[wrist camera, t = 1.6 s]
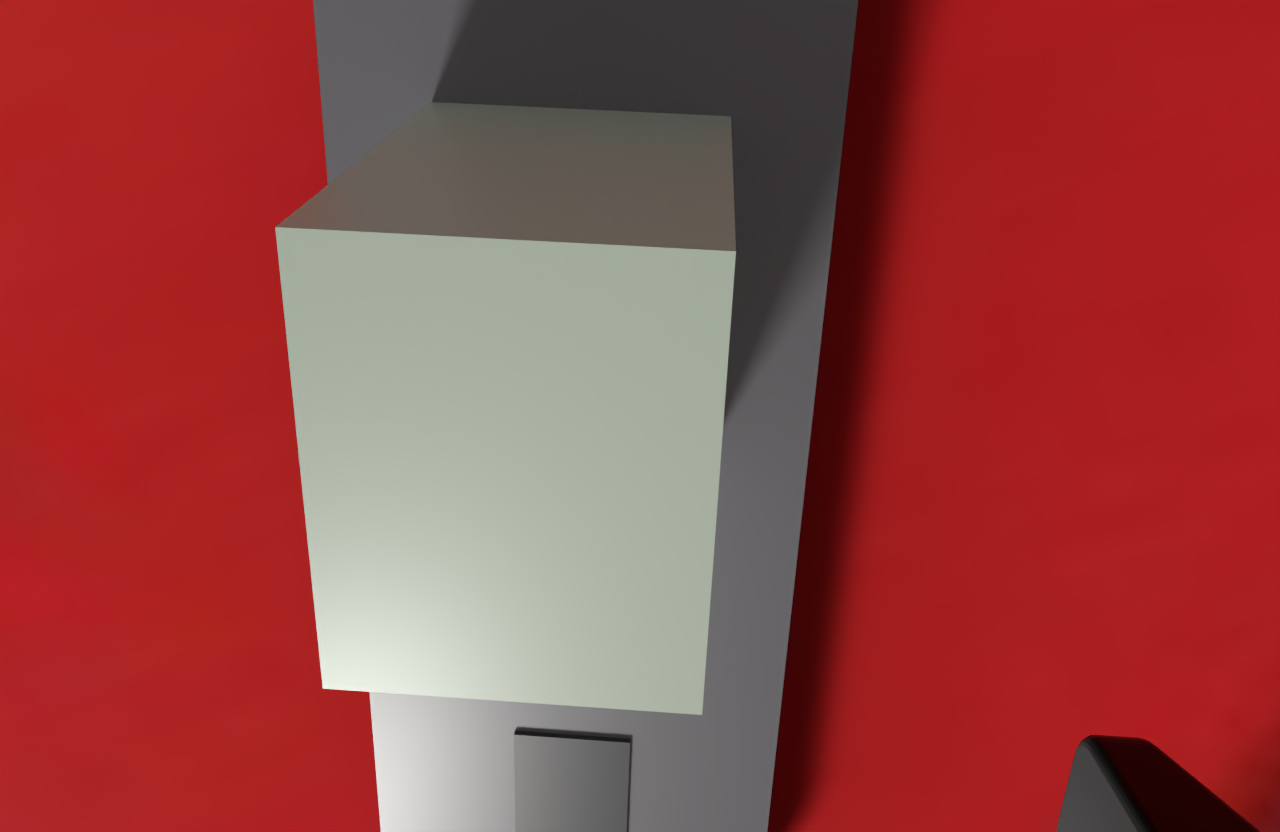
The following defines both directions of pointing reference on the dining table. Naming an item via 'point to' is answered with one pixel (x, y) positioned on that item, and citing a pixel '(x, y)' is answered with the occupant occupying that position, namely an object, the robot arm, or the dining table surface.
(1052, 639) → the dining table surface
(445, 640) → the block
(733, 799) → the power strip
